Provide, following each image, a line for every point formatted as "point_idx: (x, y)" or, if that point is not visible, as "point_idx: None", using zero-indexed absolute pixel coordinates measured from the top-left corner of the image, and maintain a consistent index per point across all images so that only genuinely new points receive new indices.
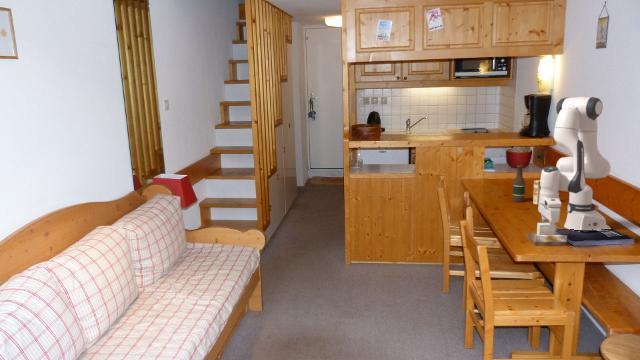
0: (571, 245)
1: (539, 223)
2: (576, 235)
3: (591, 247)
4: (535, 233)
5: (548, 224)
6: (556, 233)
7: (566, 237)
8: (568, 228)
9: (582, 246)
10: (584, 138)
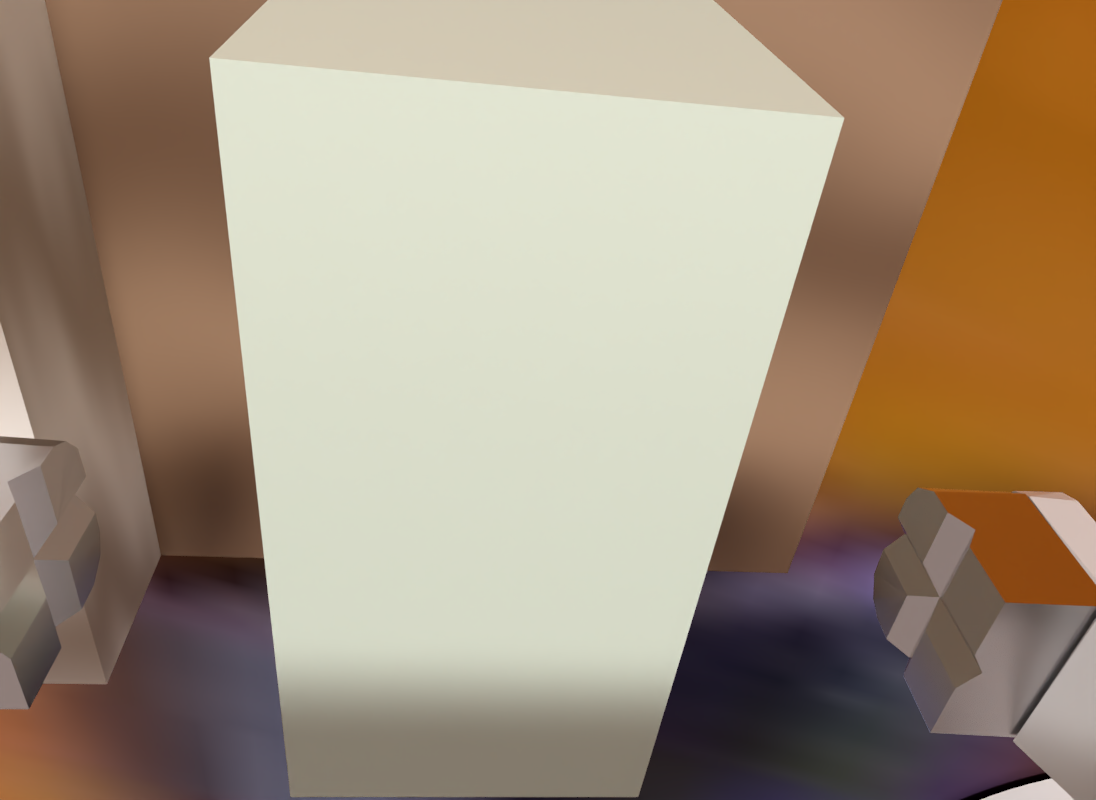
0: None
1: (654, 198)
2: (729, 774)
3: (84, 770)
4: (939, 38)
5: (384, 581)
6: (749, 562)
7: None
8: (1053, 788)
9: (118, 690)
10: None
